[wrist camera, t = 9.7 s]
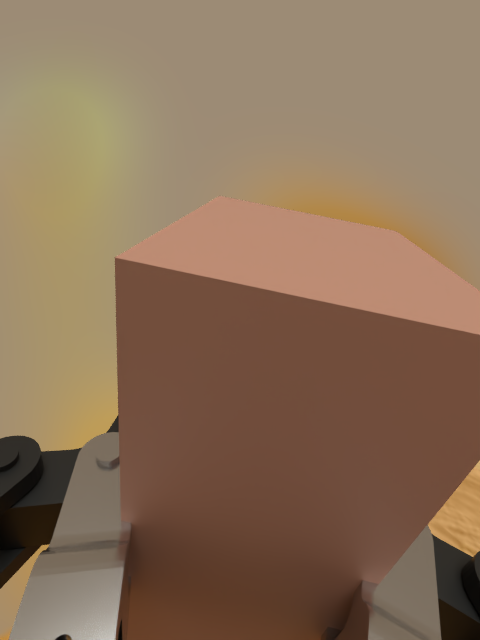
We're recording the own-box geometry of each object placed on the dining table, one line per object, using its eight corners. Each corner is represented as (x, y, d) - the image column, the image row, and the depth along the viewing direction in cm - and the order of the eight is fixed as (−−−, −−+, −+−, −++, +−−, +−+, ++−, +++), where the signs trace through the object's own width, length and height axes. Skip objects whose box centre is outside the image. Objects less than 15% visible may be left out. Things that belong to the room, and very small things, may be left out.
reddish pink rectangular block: (264, 556, 15) (395, 231, 8) (253, 739, 11) (566, 353, 3) (175, 534, 16) (219, 195, 8) (125, 704, 11) (115, 257, 3)
